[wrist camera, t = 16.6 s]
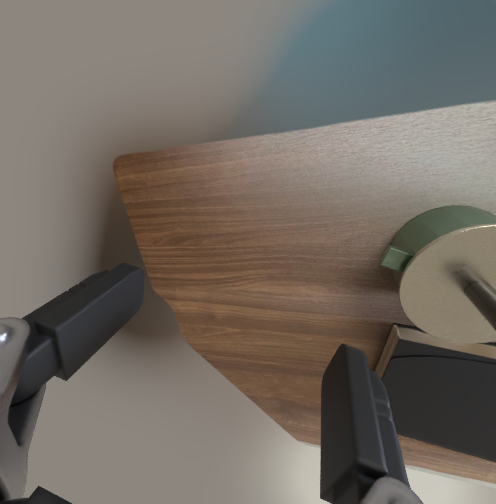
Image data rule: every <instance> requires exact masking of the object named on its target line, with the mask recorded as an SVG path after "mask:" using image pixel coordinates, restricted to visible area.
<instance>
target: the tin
mask: <svg viewBox="0 0 496 504" xmlns="http://www.w3.org/2000/svg"><path fill="white" fill-rule="evenodd" d="M482 224H496V215H494V214H492V213H490V212H487V211H484V210H481V209H478V208H474V207H470V206H460V205H459V206H445V207H440V208H436V209H432V210H429V211H427V212H424V213H422V214H420V215H418V216H416V217H415V218H413V219H412V220H410V221H409V222H408V223H406V224H405V225H404V226H403V227H402V228H401V229H400V230H399V231H398V233H397V234H396V235H395V237H394V238H393V240H392V242H391V244H390V245H388V246H387V248H386V250H385V252H384V254H383V255H382V257H381V259H380V261H379V262H380V265H382V266H385V267H388V268H389V269H390V271H391V273H392V275H393V278H394V280H395V282H396V284H397V286H398V288H399V282H400V278H401V276H402V273H403V271H404V269H405V267H406V266H407V264H408V263H409V261H410V260H411V259H412V258H413V257H414V256H415V255H416V254H417V252H419V251H420V250H421V249H422V248H423V247H425V246H426V245H428V244H429V243H431V242H432V241H434V240H435V239H437V238H439V237H441V236H443V235H445V234H448V233H450V232H453V231H455V230H459V229H462V228H465V227H470V226H475V225H482Z"/></svg>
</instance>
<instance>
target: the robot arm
mask: <svg viewBox="0 0 496 504" xmlns="http://www.w3.org/2000/svg"><path fill="white" fill-rule="evenodd" d="M143 289H144V272H143V270H142V269H140V268H137V267H134V266H132V265H129V264H126V263H122V264H120V265H118V266H117V267H115V268H114V269H112V270H111V271H107V270H106V271H103V272H100V273H97V274H94V275H91V276H90V277H88V278H86V279H85V280H83V281H82V282H80V283H79V285H75V286H73V287H72V288H70V289H69V291H65V292H64V293H62V294H61V295H59V296H57V297H56V298H54V299H53V300H51V301H49V302H48V303H46V304H44V305H43V306H41V307H40V308H38V309H36V310H35V311H33V312H32V313H30V314H28V315H27V316H25V317H23V318H22V319H20V318H12V317H11V318H0V504H72V503H70V502H68V501H66V500H64V499H62V498H61V497H59V496H57V495H55V494H53V493H51V492H49V491H47V490H46V489H44V488H42V487H40V486H38V487H37V488H36V490H35V491H34V492H33V493H32V495H31V496H30V497H29V498H22V497H23V493H24V489H25V485H26V478H27V457H28V450H29V446H30V443H31V439H32V436H33V432H34V429H35V425H36V421H37V418H38V414H39V410H40V407H41V403H42V400H43V396H44V393H45V389H46V382H47V381H48V380H50V379H51V378H52V377H53V376H56V377H59V378H61V379H63V380H65V381H67V380H68V379H69V378H70V377H71V376H72V375H73V374H74V373H75V372H76V371H77V370H78V369H79V368H80V367H81V366H82V365H83V364H84V363H85V362H86V361H88V359H90V357H91V356H93V355H94V354H95V353H96V352H97V351H98V350H99V349H100V348H101V347H102V346H103V345H104V344H105V343H106V342H107V341H108V340H109V339H110V338H111V337H112V336H113V335H114V334H115V333H116V332H117V331H118V330H119V329H120V328H122V326H124V325H125V324H126V323H127V322H128V321H129V320H130V319H131V318H132V317H133V316H134V315H135V314H136V313H137V312H138V310H139V309H140V307H141V305H142V302H143ZM389 406H390V403H389V399H388V394H387V390H386V387H385V386H384V384H383V382H382V381H381V379H380V377H379V376H378V374H377V372H374V371H372V370H369V369H368V363H367V358H366V354H365V352H364V351H362V350H359V349H356V348H354V347H351V346H348V345H345V344H341V345H340V346H339V348H338V349H337V351H336V353H335V355H334V356H333V358H332V360H331V361H330V363H329V365H328V367H327V368H326V370H325V373H324V376H323V380H322V387H321V475H320V477H321V479H320V498H321V499H323V500H325V501H327V502H330V503H332V504H423V502H422V501H421V500H420V498H419V497H418V496H417V495H416V494H415V493H414V492H413V491H412V490H411V488H410V485H409V482H408V478H407V474H406V470H405V465H404V461H403V457H402V453H401V449H400V445H399V440H398V436H397V432H396V428H395V424H394V422H393V415H392V411H391V408H390V407H389Z"/></svg>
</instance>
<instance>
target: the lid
mask: <svg viewBox="0 0 496 504" xmlns="http://www.w3.org/2000/svg"><path fill="white" fill-rule="evenodd" d="M399 299H400V303H401V306H402V308H403V310H404V312H405V314H406V315H407V317H408V318H409V319H410V320H411V321H412V322H413V323H414V324H415V325H416V326H417V327H419V328H420V329H421V330H423V331H425V332H426V333H428V334H430V335H433V336H435V337H438V338H441V339H444V340H448V341H453V342H460V343H487V342H494V341H496V224H482V225H475V226H470V227H465V228H462V229H459V230H455V231H453V232H450V233H448V234H445V235H443V236H441V237H439V238H437V239H435V240H434V241H432V242H431V243H429V244H428V245H426V246H425V247H423V248H422V249H421V250H420V251H419V252H417V254H416V255H415V256H414V257H413V258H412V259H411V260H410V261H409V263H408V264H407V266H406V267H405V269H404V271H403V273H402V276H401V278H400V282H399Z"/></svg>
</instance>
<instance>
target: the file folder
mask: <svg viewBox="0 0 496 504" xmlns="http://www.w3.org/2000/svg"><path fill="white" fill-rule="evenodd" d="M374 372H377V374H378V376H379V377H380V379H381V381H382V382H383V384H384V386H385V387H386V390H387V394H388V399H389V403H390V406H389V407H390V408H391V411H392V415H393V422H394V424H395V428H396V432H397V434H398V435H402V436H405V437H409V438H412V439H416V440H419V441H423V442H426V443H430V444H433V445H437V446H440V447H444V448H447V449H451V450H454V451H458V452H461V453H465V454H468V455H472V456H475V457H479V458H482V459H486V460H489V461H493V462H496V343H492V342H487V343H460V342H453V341H448V340H444V339H441V338H438V337H435V336H433V335H430V334H428V333H426V332H425V331H423V330H421V329H420V328H416V327H411V326H406V325H401V324H396V323H394V324H393V326H392V329H391V331H390V334H389V336H388V339H387V341H386V344H385V346H384V349H383V351H382V354H381V356H380V359H379V361H378V364H377V366H376V369H375V371H374Z"/></svg>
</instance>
